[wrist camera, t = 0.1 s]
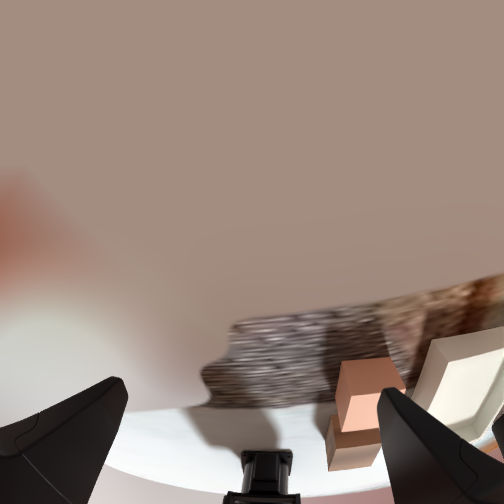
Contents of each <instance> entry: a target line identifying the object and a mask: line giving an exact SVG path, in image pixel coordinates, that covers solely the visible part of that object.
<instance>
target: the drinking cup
mask: <svg viewBox="0 0 504 504" xmlns="http://www.w3.org/2000/svg"><path fill="white" fill-rule="evenodd" d="M492 431H493V434H494V436H495V438H496V441H497V443H498V445H499V448H500V450H501V453H502V455H503V458H504V415H502V416H501V417H500V418H499V419H498V420H497V421H496V422H495V424H494V425H493V427H492Z"/></svg>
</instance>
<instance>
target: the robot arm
mask: <svg viewBox="0 0 504 504" xmlns="http://www.w3.org/2000/svg"><path fill="white" fill-rule="evenodd" d="M127 401H128V393H127V390H126V387H125V385H124V382H123V380H122V379H121V378H119V377H114V376H111V377H109V378H107V379H105V380H103V381H101V382H99V383H97V384H95V385H93V386H91V387H90V388H88V389H86V390H84V391H82V392H80V393H78V394H76V395H74V396H72V397H70V398H68V399H66V400H64V401H62V402H60V403H57V404H56V405H53V406H51V407H49V408H47V409H45V410H43V411H41V412H40V413H37V414H34V415H32V416H30V417H28V418H26V419H23V420H21V421H18V422H15V423H13V424H10V425H7V426H4V427H1V428H0V504H87V503H88V501H89V498H90V496H91V493H92V491H93V488H94V486H95V484H96V481H97V478H98V476H99V474H100V471H101V469H102V466H103V464H104V462H105V460H106V457H107V455H108V453H109V450H110V448H111V446H112V444H113V441H114V439H115V437H116V434H117V432H118V429H119V426H120V423H121V420H122V417H123V414H124V410H125V407H126V404H127ZM377 416H378V423H379V430H380V437H381V445H382V450H383V454H384V458H385V462H386V466H387V470H388V475H389V479H390V483H391V488H392V493H393V497H394V502H395V504H504V463H502V462H500V461H498V460H496V459H494V458H493V457H491V456H489V455H487V454H486V453H484V452H482V451H480V450H479V449H477V448H476V447H474V446H473V445H472V444H470V443H469V442H467V441H466V440H465V439H463V438H461V437H460V436H459V435H458V434H456V433H455V432H454V431H452V430H451V429H450V428H448V427H447V426H446V425H444V424H443V423H442V422H440V421H439V420H438V419H436V418H435V417H434V416H432V415H431V414H430V413H428V412H427V411H426V410H424V409H423V408H422V407H420V406H419V405H418V404H416V403H415V402H414V401H413V400H411V399H410V398H409V397H407V396H406V395H405V394H403V393H402V392H401V391H400V390H398V389H397V388H395V387H387V388H384V389H383V390H382V391H381V394H380V398H379V401H378V403H377ZM241 458H242V466H243V474H244V477H243V484H242V491H241V493H237V492H233V491H228V493H227V495H225V496H224V499H223V504H301V500H300V493H299V494H288V476H290V472H291V466H292V459H293V453H291V452H250V451H243V452H242V453H241Z"/></svg>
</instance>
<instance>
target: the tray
mask: <svg viewBox="0 0 504 504" xmlns="http://www.w3.org/2000/svg"><path fill="white" fill-rule="evenodd" d="M411 400H413V401H414V402H415V403H416V404H418V405H419V406H420V407H422V408H423V409H424V410H426V411H427V412H428V413H430V414H431V415H432V416H434V417H435V418H436V419H438V420H439V421H440V422H442V423H443V424H444V425H446V426H447V427H448V428H450V429H451V430H452V431H454V432H455V433H456V434H458V435H459V436H460V437H461V438H463V439H465V440H466V441H467V442H469V443H470V444H471V443H474V442H476V441H478V440H481V438H482V437H483V436H484V434H485V433H486V431H487V430H488V428H489V427H490V425H491V424H492V422H493V421H494V419H495V418H496V416H497V415H498V413H499V411H500V410H501V408H502V406H503V405H504V326H501V327H497V328H492V329H488V330H483V331H478V332H473V333H468V334H463V335H457V336H452V337H446V338H439V339H433V340H431V344H430V347H429V350H428V353H427V356H426V359H425V362H424V365H423V368H422V371H421V374H420V377H419V379H418V382H417V385H416V387H415V390H414V392H413V395H412V397H411Z"/></svg>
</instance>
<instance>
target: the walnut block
mask: <svg viewBox="0 0 504 504" xmlns="http://www.w3.org/2000/svg"><path fill="white" fill-rule="evenodd" d="M325 445H326V454H327V463H328V471H338V470H347V469H354V468H361V467H368V466H371V465H372V463H373V461H374V459H375V458H376V456H377V454H378V452H379V450H380V448H381V446H382V445H381V437H380V431H379V428H372V429H365V430H357V431H348V432H341V427H340V421H339V416H338V415H331V418H330V422H329V426H328V430H327V434H326V438H325Z"/></svg>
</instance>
